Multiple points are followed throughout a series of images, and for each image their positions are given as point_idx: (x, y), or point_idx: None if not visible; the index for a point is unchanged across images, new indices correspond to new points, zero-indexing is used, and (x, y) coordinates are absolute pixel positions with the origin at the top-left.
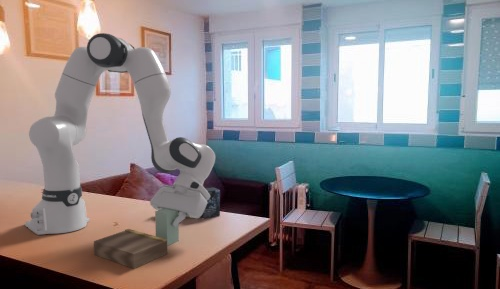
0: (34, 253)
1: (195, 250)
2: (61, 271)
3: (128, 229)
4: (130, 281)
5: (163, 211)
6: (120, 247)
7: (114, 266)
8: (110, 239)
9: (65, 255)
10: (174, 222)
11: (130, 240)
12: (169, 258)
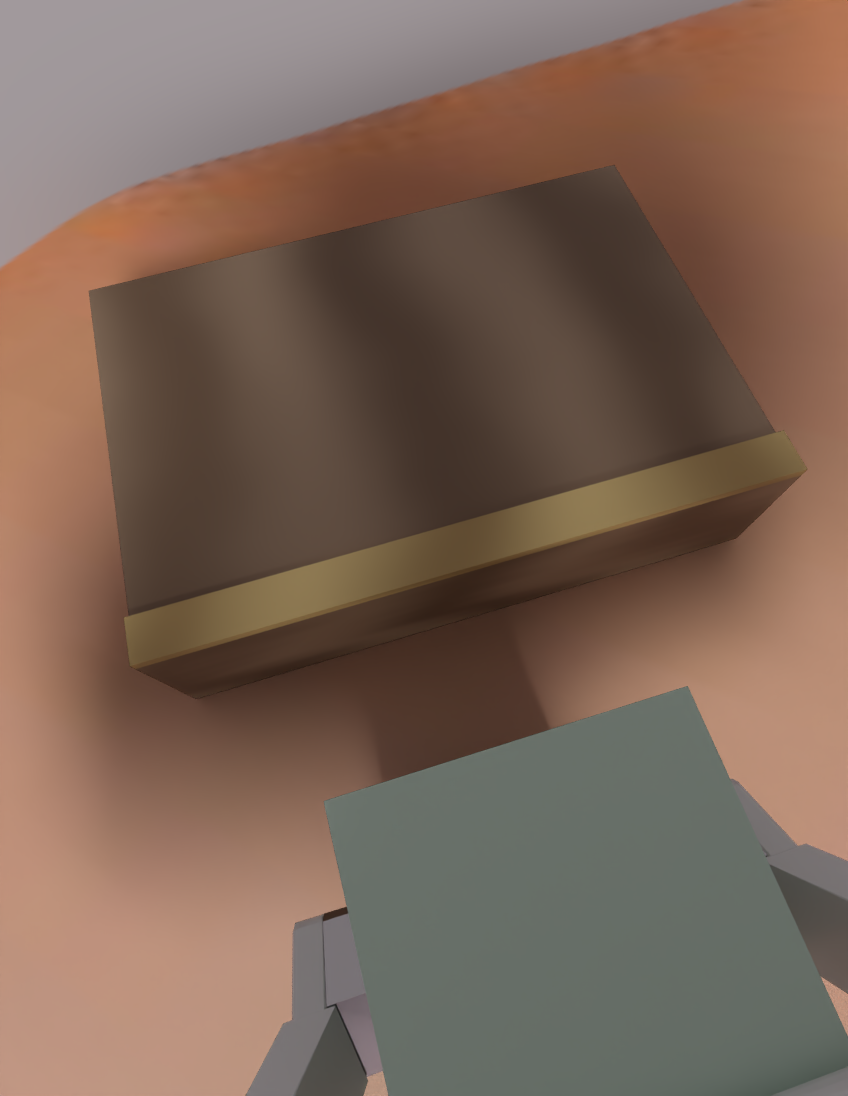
0: (825, 44)
1: (30, 1016)
2: (436, 95)
3: (772, 464)
4: (2, 301)
5: (573, 846)
6: (312, 264)
7: None
8: (572, 262)
9: (686, 145)
10: (295, 953)
11: (422, 377)
12: (90, 662)
